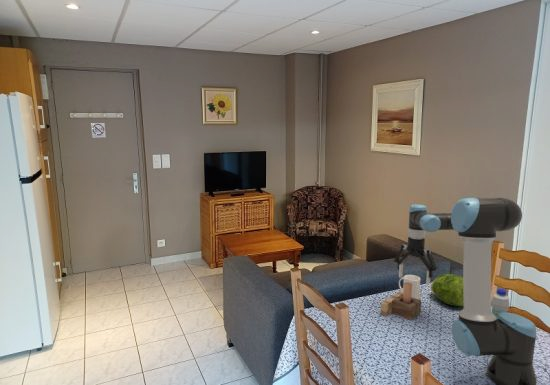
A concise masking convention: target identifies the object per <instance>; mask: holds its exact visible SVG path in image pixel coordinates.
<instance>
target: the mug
mask: <svg viewBox="0 0 550 385" xmlns="http://www.w3.org/2000/svg"><path fill="white" fill-rule="evenodd" d="M402 280H403V286H402V287H401V281H402ZM405 282H409V283H412V292H411V297H412V298H415V299H418V300H420V291H421V290H420V289H421V277H420V276H418V275H416V274H415V275H414V274H406V275H403V276H402V277H400V278H399V280H398V287H399V289H400V291H403V292H404V283H405Z"/></svg>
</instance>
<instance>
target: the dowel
mask: <svg viewBox="0 0 550 385" xmlns="http://www.w3.org/2000/svg"><path fill="white" fill-rule="evenodd" d="M403 284H404V292H403V302H405V303H408V304H410V303H411V292H412V283H409V282H405V283H404V282H403Z"/></svg>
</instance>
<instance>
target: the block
mask: <svg viewBox="0 0 550 385" xmlns="http://www.w3.org/2000/svg"><path fill="white" fill-rule="evenodd" d="M421 310H422V300H421V299H419V300H418V299H415V298H412V297H411V303H410V304H408V303H405V302H403V295H400V296H398V297H397V298H395V299H394V300H392V311H391V315H392V314H393V315H395V316H397V317H398V316H399V317H401V318H405V319H407V320H409V321H412V320H413V319H415V318H416V317H417V316H419V315H420V314H421Z"/></svg>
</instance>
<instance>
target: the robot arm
mask: <svg viewBox="0 0 550 385" xmlns="http://www.w3.org/2000/svg"><path fill="white" fill-rule="evenodd" d="M522 220H523V211H522V208H521V207H520V205H518V204H517V202H515V201H513V200H512V199H509V198H505V197H467V198H461V199H459V200H458V201H457V202H456V203H455V204H454V205H453V208H452V210H451V212H445V213H441V212H439V213H438V212H436V213H435V212H432V213H431V212H428V210H427V206H426V205H424V204H411V205H410V206H409V211H408V233H407V236H408V237H407V244H405V243H403V244H402V245H401V246H400V250H399V251H398V252H397V254H396V256H395V258H394V259H393V262H395V263H397V270H398V278H402V277H404V275H403V273H404V263H403V262H404V261H405V260H407V258H409V257H410V256H411V257H415V258H418V259H420V260H421V261H422V263H423V264H424V266H425V267H426V269H427V270H426V280H425V281H426V282H425V283H426V284H425V285H427V286H428V285H431V278H433V276H434V275H433V274H434V273H433V272H435V271H437V270H438V267H437V264H436V262H435V260H434V259H435V258H433V255H432V250H431V248H429V249H425V244H426V241H425V240H426V239H425V237H426V232H427V233H428V232H429V233H435V232H437V231H456V232H458V236H457V237H459V239H461V240H462V250H463V251H462V259H463V260H462V261H463V262H462V264H463V265H462V266H463V267H462V274H463V276H462V277H463V306H462V307H463V308H462V309H461V310H460V311H459V312H458V319H455V320H454V321H453V322H452V324H451V336H452V339H453V341H454V343H455V345H456V347H457V349H458V350H459V351H460V352H461V353H462V354H464V356H467V357H469V356H471V357H482V356H484V357H485V356H491V359H490V360H489V362H488V364H487V366H486V375H487V378H488V379H489V380H490V381H491V382H492V383H494V384H495V385H537V376H536V373H535V369H534V364H533V362H534V354H535V346H536V338H537V326H536V324H535V323H534V322H533V321H531V320H530V319H528V318H527V317H525V316H522V315H520V314H517V313H513V312H509V311H508V312H501V313H499V314H498V316H497V318H498V319H496V316H495V315H494V314H493V313H492V242H493V241H494V240H495V239H496V238H497V232H507V231H510V230H513V229H515V228H517V227H518V226H519V225H520V223H521V222H522ZM406 250H407V253H405V254H404V255H403V253H404V252H405V251H406ZM402 255H403V256H402Z"/></svg>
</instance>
